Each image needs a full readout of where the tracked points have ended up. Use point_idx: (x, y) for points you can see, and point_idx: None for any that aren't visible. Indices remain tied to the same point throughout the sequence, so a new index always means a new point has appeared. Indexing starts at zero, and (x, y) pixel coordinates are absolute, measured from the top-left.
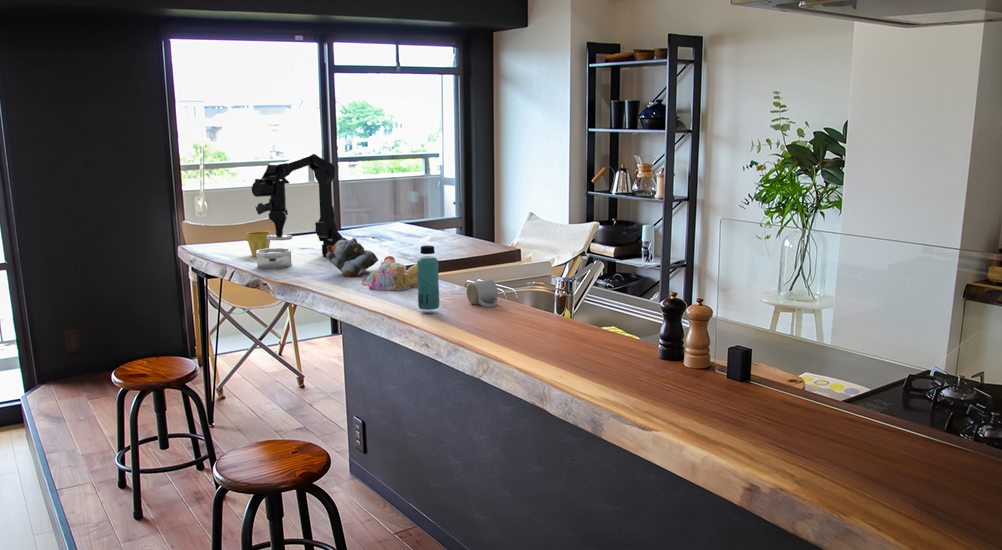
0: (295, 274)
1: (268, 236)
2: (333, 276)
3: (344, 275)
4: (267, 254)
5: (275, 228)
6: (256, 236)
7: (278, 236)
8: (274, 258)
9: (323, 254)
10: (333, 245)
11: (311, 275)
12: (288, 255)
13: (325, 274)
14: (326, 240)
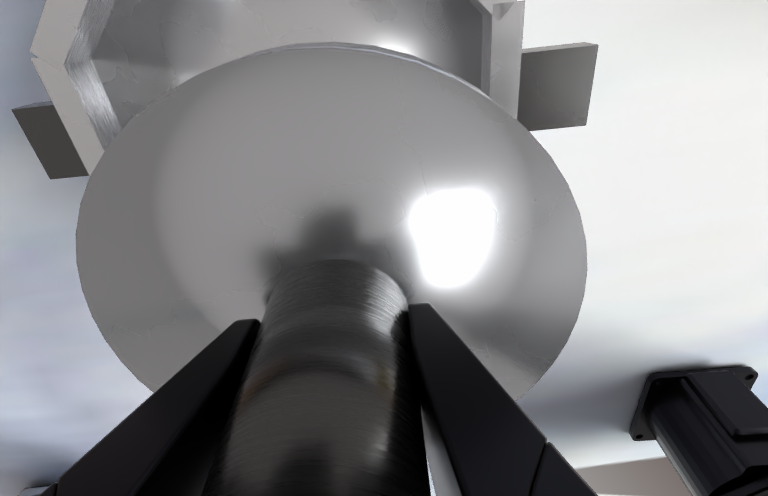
0: (7, 294)
1: (188, 122)
2: (25, 449)
3: (25, 488)
4: (52, 84)
5: (267, 407)
6: None
7: (234, 319)
8: (66, 165)
9: (685, 379)
10: (686, 483)
11: (11, 371)
12: None
13: (64, 421)
14: (751, 493)
